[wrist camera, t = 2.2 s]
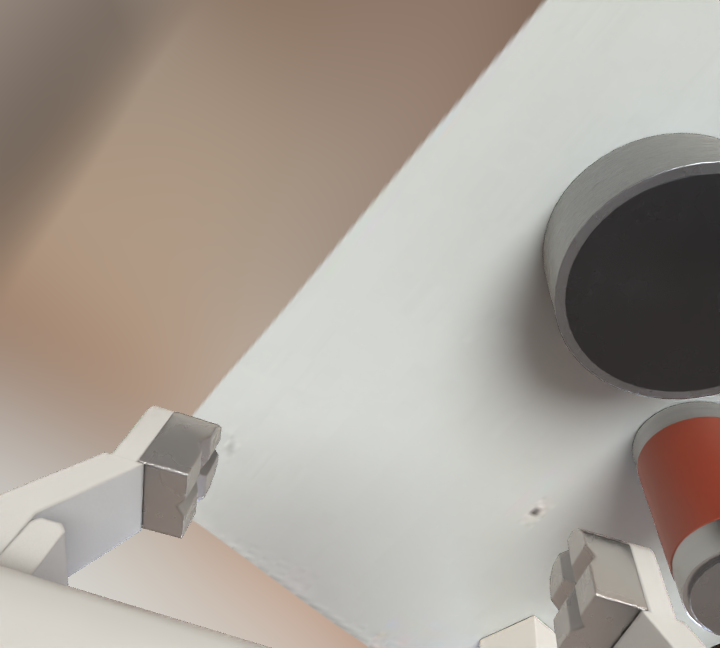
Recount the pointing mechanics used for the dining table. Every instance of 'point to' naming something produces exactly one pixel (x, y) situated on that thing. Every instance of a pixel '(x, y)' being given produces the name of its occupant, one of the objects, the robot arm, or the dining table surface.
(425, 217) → the dining table surface
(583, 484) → the dining table surface
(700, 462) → the tin can
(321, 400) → the dining table surface
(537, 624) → the milk
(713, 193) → the steel pot
